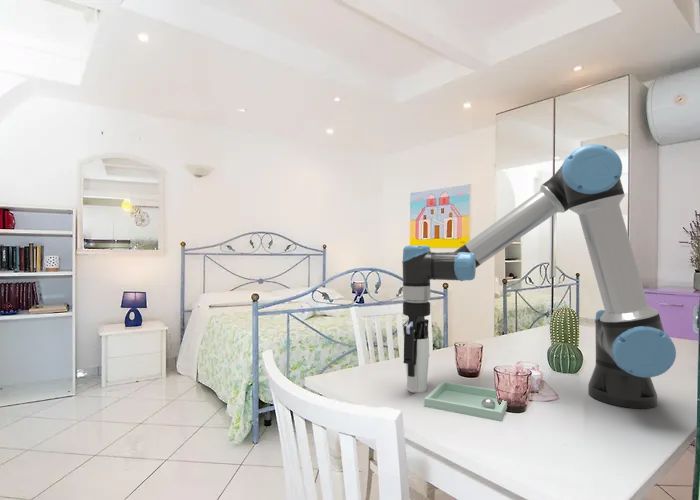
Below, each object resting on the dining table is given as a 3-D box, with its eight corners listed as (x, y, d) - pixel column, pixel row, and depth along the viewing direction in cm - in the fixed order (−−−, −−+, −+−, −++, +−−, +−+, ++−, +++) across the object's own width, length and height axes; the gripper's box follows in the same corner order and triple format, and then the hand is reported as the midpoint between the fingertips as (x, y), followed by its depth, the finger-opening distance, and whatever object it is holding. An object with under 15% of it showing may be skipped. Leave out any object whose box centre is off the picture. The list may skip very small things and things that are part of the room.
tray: (510, 401, 105) (510, 392, 105) (501, 423, 92) (500, 412, 92) (442, 390, 114) (442, 381, 114) (424, 408, 101) (424, 398, 101)
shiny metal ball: (496, 410, 98) (496, 397, 98) (494, 415, 95) (494, 401, 95) (482, 408, 99) (482, 395, 99) (480, 412, 97) (480, 399, 97)
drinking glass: (429, 395, 109) (429, 339, 109) (403, 394, 111) (403, 339, 111) (429, 387, 116) (429, 334, 116) (405, 386, 117) (405, 334, 117)
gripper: (415, 296, 124) (416, 373, 124) (390, 304, 107) (390, 392, 107) (440, 297, 120) (440, 376, 120) (417, 305, 103) (417, 397, 103)
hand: (417, 383), depth 113 cm, fingers closed on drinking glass, 6 cm apart
